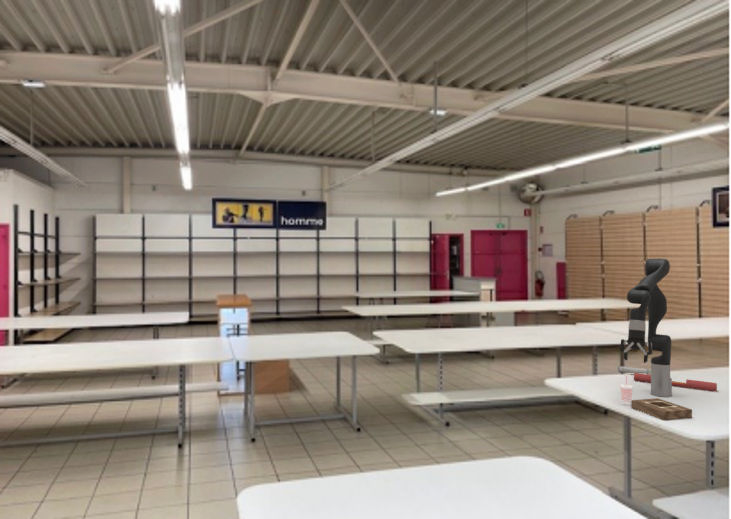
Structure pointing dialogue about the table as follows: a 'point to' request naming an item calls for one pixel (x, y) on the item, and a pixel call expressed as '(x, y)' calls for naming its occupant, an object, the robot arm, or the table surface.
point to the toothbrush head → (634, 370)
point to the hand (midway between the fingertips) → (635, 361)
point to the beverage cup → (626, 393)
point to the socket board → (661, 409)
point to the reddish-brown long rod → (688, 384)
